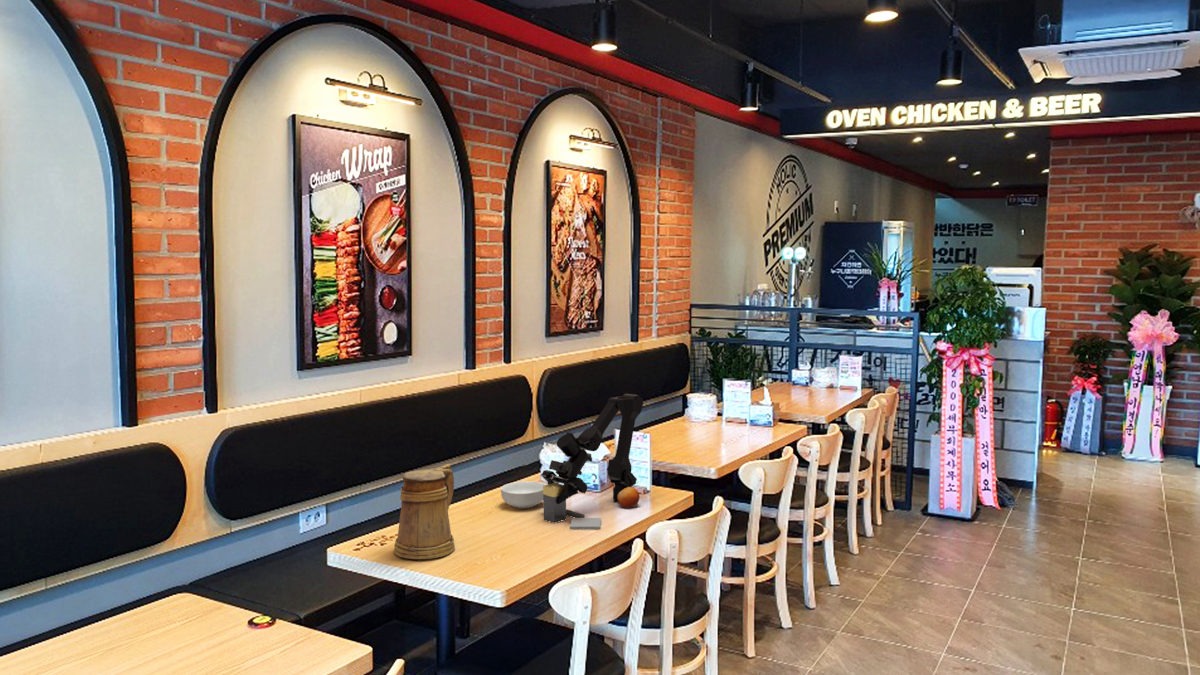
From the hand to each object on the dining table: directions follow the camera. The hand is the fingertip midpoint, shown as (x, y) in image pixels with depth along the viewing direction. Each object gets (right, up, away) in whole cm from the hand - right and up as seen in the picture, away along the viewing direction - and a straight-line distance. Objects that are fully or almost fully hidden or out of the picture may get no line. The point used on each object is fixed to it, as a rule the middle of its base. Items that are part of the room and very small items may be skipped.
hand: (551, 501), depth 304 cm
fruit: (+27, -5, +17) cm, 32 cm away
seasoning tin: (+1, -6, +2) cm, 7 cm away
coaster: (+12, -7, -5) cm, 15 cm away
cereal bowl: (-11, -5, +20) cm, 24 cm away
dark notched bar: (+6, -6, +6) cm, 11 cm away
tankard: (-36, -10, -28) cm, 47 cm away
